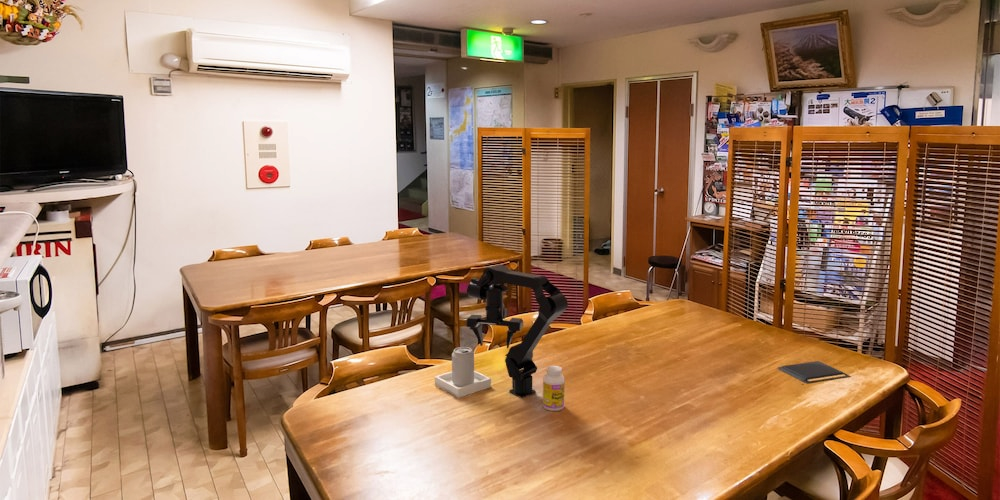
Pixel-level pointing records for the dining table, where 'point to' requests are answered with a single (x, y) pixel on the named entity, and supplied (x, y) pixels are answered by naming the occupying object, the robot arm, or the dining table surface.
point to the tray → (479, 384)
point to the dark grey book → (813, 372)
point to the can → (462, 366)
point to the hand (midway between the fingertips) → (494, 346)
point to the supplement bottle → (553, 389)
